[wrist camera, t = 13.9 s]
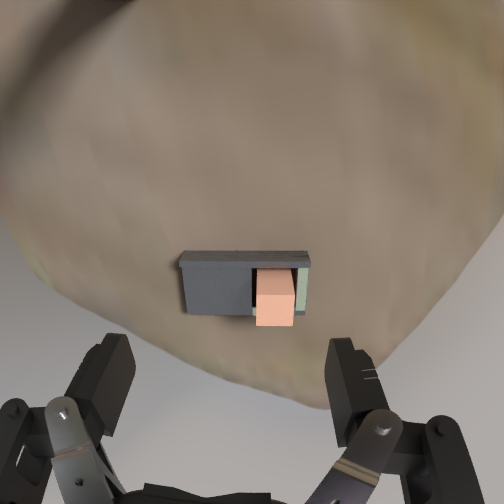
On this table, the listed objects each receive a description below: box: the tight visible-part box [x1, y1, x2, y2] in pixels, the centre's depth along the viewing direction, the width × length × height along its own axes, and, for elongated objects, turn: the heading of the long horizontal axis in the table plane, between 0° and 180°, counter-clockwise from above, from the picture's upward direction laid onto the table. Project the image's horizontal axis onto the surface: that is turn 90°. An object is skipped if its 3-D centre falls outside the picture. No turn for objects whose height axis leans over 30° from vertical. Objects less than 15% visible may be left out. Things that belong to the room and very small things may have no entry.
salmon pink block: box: [256, 268, 295, 326], centre depth 37 cm, size 4×4×7 cm
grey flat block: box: [179, 251, 311, 316], centre depth 39 cm, size 8×15×3 cm, turn 91°
